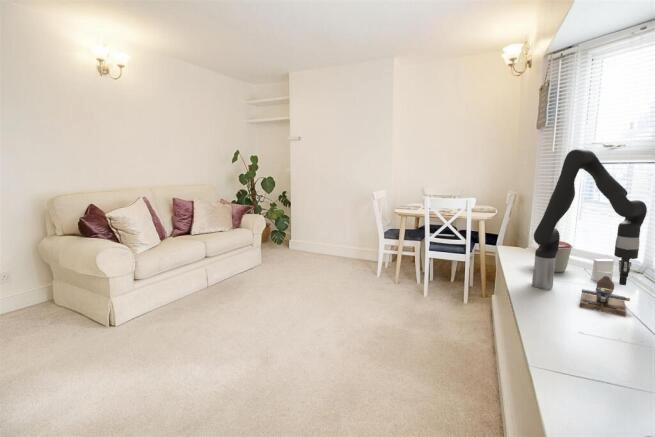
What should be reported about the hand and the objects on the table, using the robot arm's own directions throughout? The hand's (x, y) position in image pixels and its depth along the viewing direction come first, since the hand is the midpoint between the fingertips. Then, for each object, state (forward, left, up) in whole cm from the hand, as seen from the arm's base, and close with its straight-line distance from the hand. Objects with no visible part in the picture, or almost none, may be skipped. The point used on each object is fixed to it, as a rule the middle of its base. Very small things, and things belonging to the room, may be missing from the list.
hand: (622, 284), depth 141 cm
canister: (-30, +53, -14) cm, 62 cm away
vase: (-5, +26, -14) cm, 30 cm away
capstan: (-6, +6, -12) cm, 14 cm away
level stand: (-6, +6, -14) cm, 16 cm away
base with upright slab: (-6, +48, -14) cm, 51 cm away
